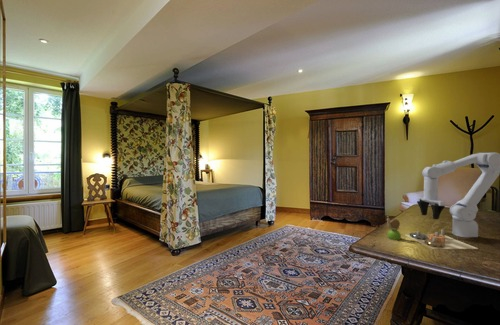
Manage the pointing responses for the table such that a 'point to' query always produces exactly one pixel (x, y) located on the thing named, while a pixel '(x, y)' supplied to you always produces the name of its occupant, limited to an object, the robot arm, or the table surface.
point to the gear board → (449, 242)
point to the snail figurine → (393, 229)
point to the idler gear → (440, 238)
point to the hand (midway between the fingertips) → (429, 217)
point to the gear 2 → (431, 243)
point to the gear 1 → (419, 236)
